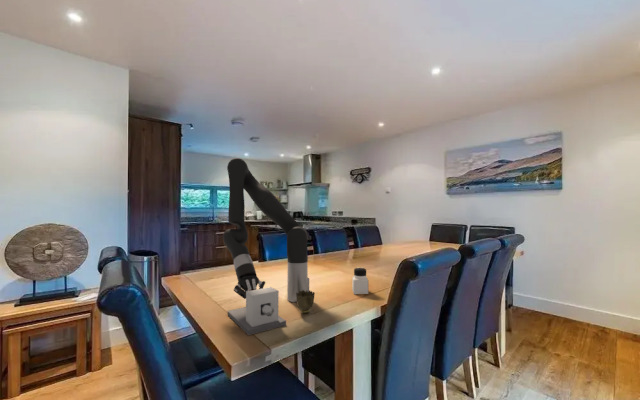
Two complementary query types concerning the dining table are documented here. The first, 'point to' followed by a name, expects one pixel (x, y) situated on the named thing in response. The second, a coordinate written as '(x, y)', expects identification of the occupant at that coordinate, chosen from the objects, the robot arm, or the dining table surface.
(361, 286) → the medicine bottle
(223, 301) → the dining table surface
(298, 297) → the cup
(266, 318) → the peg hole fixture
